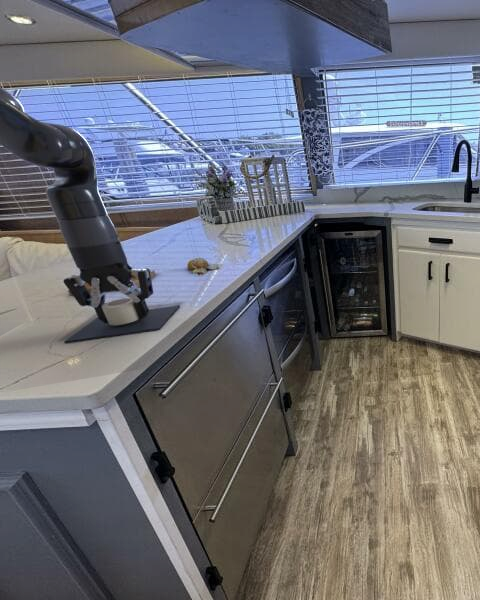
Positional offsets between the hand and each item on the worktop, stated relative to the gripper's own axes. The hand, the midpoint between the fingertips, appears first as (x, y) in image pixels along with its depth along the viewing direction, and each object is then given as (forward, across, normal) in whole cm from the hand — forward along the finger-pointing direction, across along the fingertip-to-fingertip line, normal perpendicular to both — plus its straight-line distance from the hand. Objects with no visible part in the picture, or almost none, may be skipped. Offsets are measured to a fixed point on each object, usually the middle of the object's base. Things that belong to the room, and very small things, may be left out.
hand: (126, 319), depth 68 cm
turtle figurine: (+1, +5, +36) cm, 36 cm away
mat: (+1, 0, 0) cm, 1 cm away
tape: (0, 0, 0) cm, 0 cm away
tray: (+1, -15, +29) cm, 33 cm away
